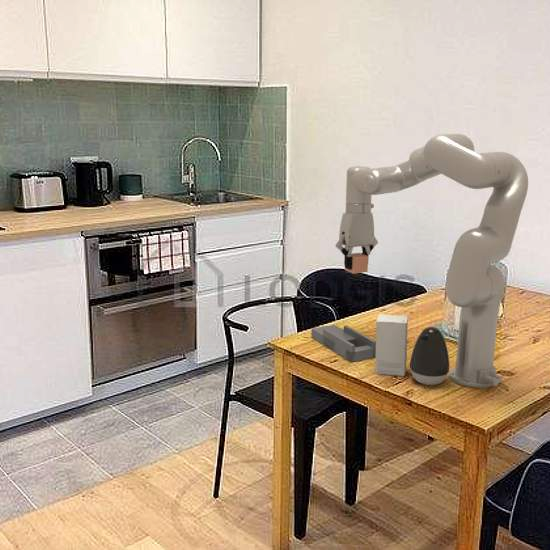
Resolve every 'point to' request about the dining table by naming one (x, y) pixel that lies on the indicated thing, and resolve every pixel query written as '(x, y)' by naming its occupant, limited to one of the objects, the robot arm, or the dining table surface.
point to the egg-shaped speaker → (430, 357)
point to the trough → (345, 342)
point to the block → (358, 263)
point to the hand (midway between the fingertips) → (356, 267)
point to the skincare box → (391, 344)
